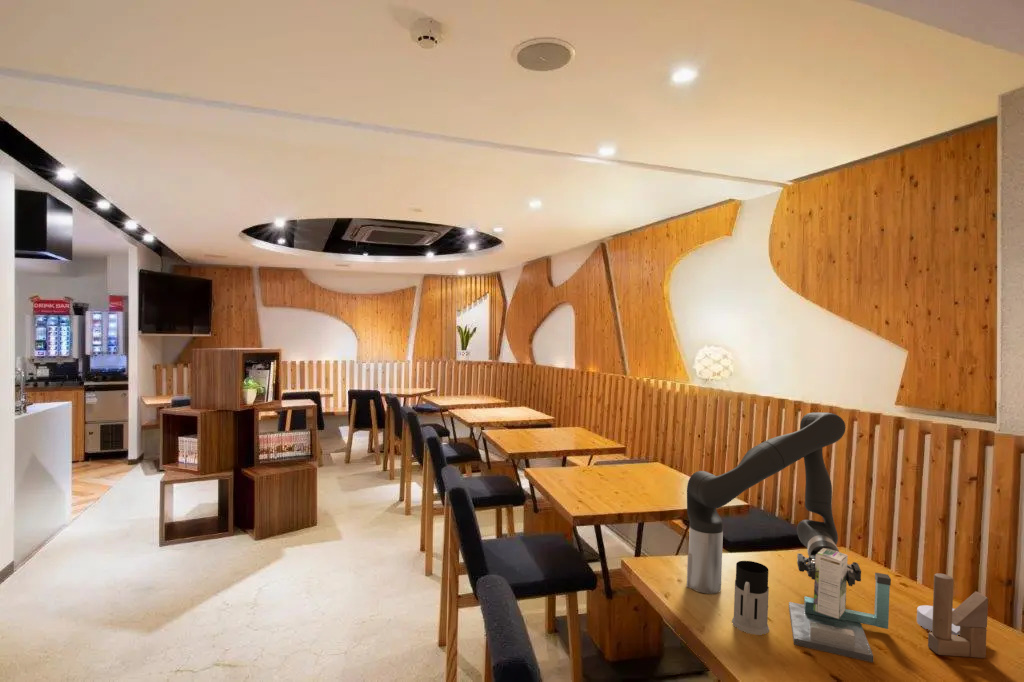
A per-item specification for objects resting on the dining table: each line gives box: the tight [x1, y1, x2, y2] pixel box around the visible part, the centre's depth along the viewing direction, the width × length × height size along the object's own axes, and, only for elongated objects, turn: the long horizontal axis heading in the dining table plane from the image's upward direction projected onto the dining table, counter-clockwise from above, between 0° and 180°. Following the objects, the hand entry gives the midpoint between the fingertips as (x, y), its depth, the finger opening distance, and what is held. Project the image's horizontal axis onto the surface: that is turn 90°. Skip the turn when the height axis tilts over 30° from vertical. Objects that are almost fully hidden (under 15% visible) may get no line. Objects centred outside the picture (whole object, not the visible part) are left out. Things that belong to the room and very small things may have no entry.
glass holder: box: [731, 560, 770, 636], centre depth 135 cm, size 9×14×15 cm, turn 148°
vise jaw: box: [803, 572, 892, 630], centre depth 139 cm, size 18×3×13 cm, turn 66°
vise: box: [788, 601, 874, 663], centre depth 135 cm, size 16×20×4 cm
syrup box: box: [813, 548, 849, 619], centre depth 134 cm, size 6×6×14 cm
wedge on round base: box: [916, 605, 960, 636], centre depth 138 cm, size 9×7×13 cm
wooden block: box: [927, 573, 989, 659], centre depth 128 cm, size 4×11×18 cm, turn 87°
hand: (832, 578), depth 132 cm, fingers closed on syrup box, 7 cm apart
